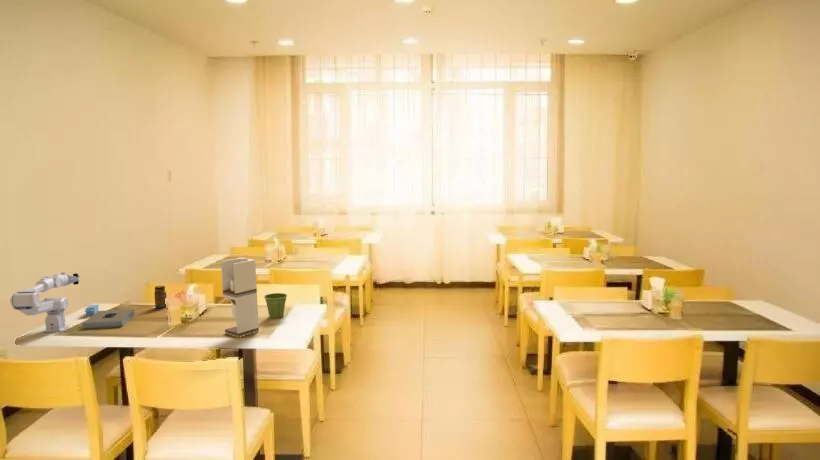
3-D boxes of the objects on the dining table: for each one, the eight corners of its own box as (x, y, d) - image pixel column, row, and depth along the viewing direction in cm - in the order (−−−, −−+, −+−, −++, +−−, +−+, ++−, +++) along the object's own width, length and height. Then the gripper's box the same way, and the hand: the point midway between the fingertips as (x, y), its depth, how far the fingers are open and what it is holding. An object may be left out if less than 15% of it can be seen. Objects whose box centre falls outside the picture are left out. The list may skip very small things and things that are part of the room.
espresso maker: (245, 327, 293) (241, 257, 288) (258, 331, 286) (255, 259, 281) (225, 333, 284) (220, 261, 279) (238, 337, 278) (234, 263, 273)
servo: (93, 316, 316) (92, 308, 316) (84, 317, 316) (84, 309, 315) (100, 311, 327) (99, 303, 327) (92, 311, 327) (91, 304, 326)
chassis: (122, 326, 298) (122, 320, 298) (83, 329, 295) (83, 323, 295) (134, 314, 319) (134, 309, 319) (98, 316, 316) (98, 311, 316)
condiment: (165, 305, 338) (164, 284, 336) (170, 308, 331) (169, 287, 329) (152, 307, 333) (150, 286, 331) (157, 310, 326) (155, 289, 325)
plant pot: (275, 321, 303) (274, 299, 301) (260, 317, 310) (259, 296, 309) (293, 315, 312) (292, 294, 311) (278, 312, 320) (277, 291, 318)
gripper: (74, 271, 300) (85, 270, 314) (43, 274, 299) (56, 272, 312) (75, 285, 300) (86, 283, 314) (44, 288, 299) (57, 286, 312)
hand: (71, 278), depth 313 cm, fingers open, 7 cm apart
